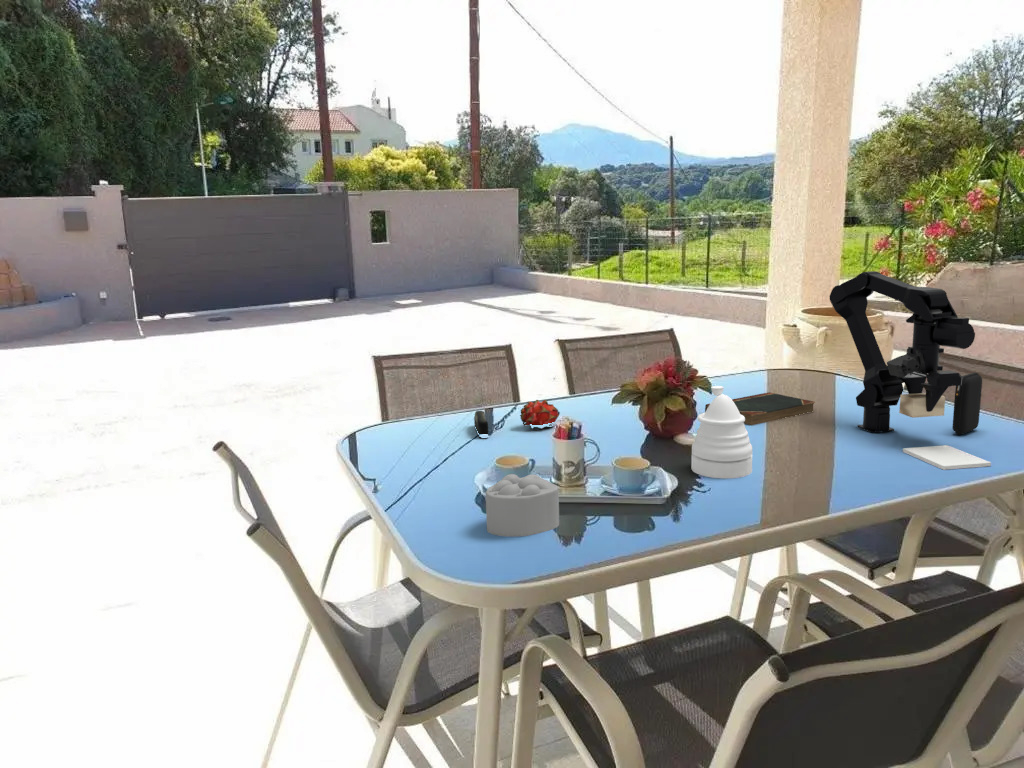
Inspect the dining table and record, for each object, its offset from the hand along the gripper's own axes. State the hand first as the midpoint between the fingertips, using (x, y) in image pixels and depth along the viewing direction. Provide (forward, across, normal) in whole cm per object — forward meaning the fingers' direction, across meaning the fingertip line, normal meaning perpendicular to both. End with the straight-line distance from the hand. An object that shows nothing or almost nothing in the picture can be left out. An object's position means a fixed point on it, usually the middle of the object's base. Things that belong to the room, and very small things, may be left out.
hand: (921, 408), depth 189 cm
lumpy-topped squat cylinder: (+8, +32, -101) cm, 106 cm away
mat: (+8, +13, -3) cm, 16 cm away
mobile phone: (+8, -37, -101) cm, 108 cm away
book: (+9, -37, -23) cm, 45 cm away
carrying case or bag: (+8, -5, +15) cm, 18 cm away
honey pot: (+8, +9, -53) cm, 54 cm away
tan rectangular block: (+1, 0, 0) cm, 1 cm away
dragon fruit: (+8, -37, -85) cm, 93 cm away
